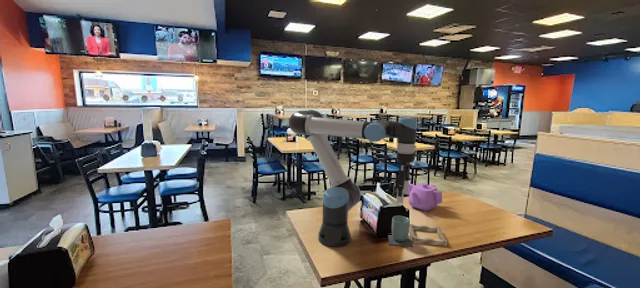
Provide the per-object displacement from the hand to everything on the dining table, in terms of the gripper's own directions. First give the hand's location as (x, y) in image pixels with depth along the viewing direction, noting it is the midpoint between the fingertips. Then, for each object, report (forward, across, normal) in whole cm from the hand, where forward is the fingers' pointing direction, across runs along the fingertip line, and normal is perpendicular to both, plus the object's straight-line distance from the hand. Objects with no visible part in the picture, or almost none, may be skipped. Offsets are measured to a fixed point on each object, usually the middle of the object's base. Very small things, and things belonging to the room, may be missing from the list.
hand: (402, 198), depth 126 cm
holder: (+21, +10, -11) cm, 25 cm away
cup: (+20, 0, 0) cm, 20 cm away
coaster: (+21, 0, 0) cm, 21 cm away
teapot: (+21, +49, -6) cm, 54 cm away
